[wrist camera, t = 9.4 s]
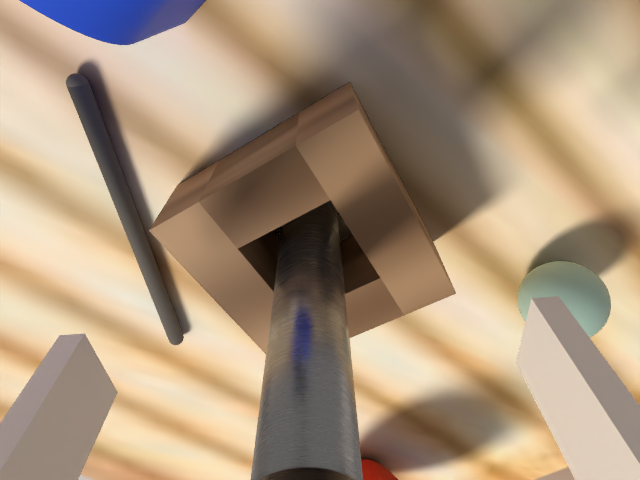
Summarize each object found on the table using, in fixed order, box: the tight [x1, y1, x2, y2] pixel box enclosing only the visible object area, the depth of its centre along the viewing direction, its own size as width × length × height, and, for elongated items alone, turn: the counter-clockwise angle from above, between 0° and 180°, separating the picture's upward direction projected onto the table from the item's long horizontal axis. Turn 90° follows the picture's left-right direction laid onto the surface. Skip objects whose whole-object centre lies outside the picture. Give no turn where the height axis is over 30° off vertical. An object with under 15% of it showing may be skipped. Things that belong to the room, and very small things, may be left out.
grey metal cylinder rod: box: [251, 200, 363, 480], centre depth 14 cm, size 3×3×15 cm
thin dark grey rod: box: [66, 73, 184, 345], centre depth 20 cm, size 15×1×1 cm, turn 5°
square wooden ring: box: [149, 82, 456, 354], centre depth 19 cm, size 9×9×4 cm
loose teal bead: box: [518, 261, 611, 338], centre depth 21 cm, size 4×4×4 cm
